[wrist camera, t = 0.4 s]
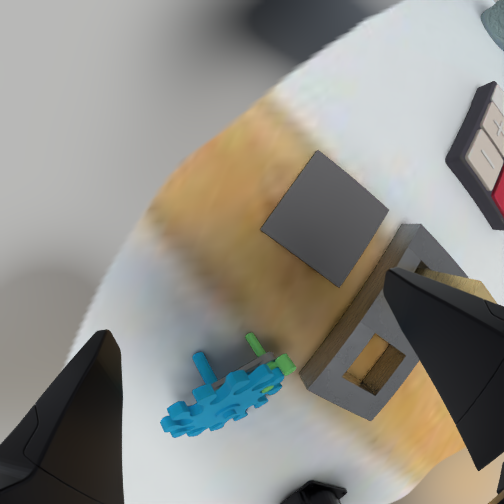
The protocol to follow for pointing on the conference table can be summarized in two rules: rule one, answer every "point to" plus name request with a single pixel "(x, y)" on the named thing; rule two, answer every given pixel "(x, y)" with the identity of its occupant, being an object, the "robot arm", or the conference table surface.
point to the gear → (228, 392)
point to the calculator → (482, 153)
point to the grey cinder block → (374, 331)
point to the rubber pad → (326, 219)
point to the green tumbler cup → (495, 22)
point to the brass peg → (458, 283)
